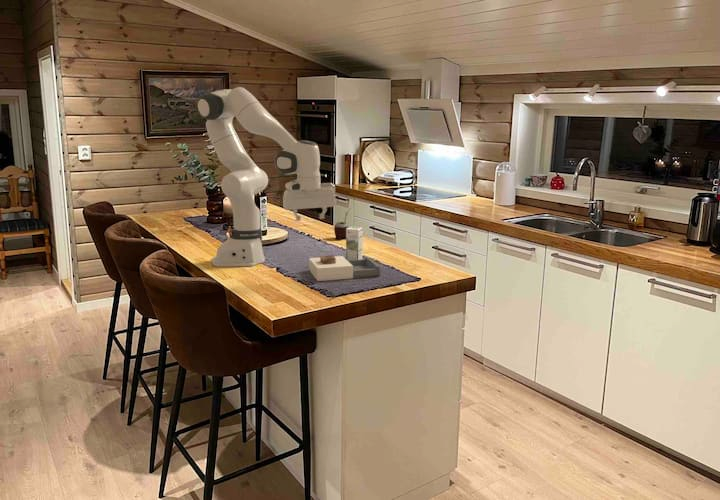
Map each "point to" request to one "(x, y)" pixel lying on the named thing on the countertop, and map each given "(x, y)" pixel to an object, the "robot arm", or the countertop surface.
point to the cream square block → (331, 269)
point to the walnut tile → (328, 259)
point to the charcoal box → (364, 268)
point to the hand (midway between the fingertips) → (310, 219)
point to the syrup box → (354, 243)
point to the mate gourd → (341, 229)
